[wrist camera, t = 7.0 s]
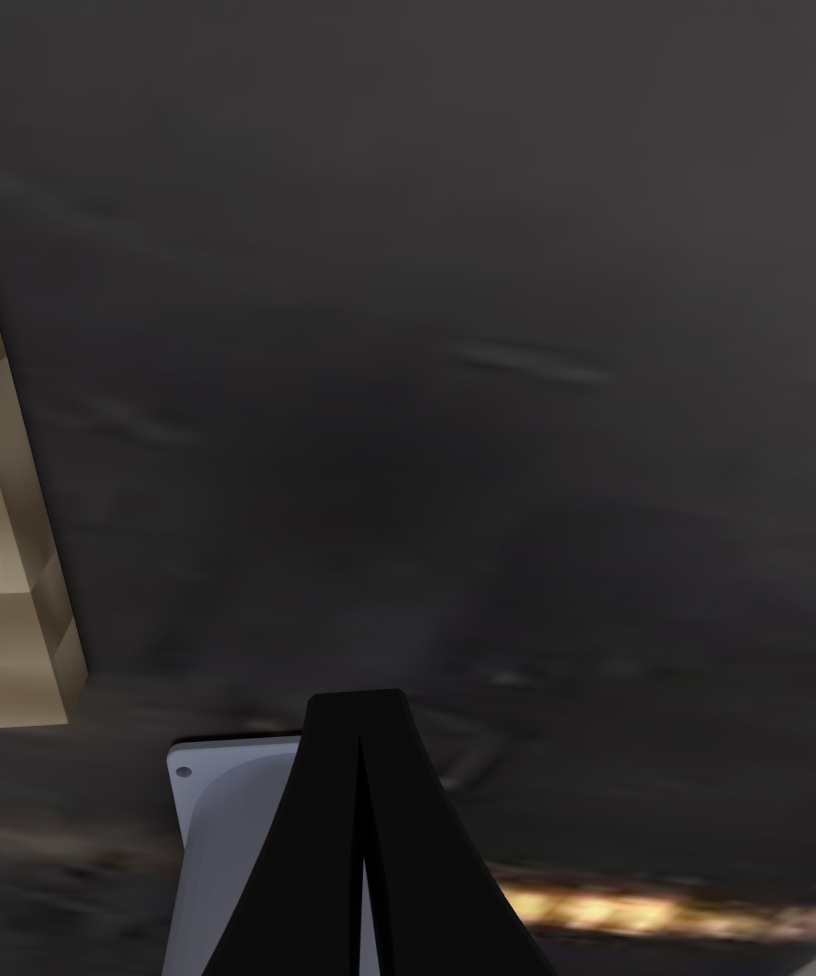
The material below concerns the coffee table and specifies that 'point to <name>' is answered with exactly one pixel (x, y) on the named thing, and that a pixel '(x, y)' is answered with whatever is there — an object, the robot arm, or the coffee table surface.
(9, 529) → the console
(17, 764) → the coffee table surface
